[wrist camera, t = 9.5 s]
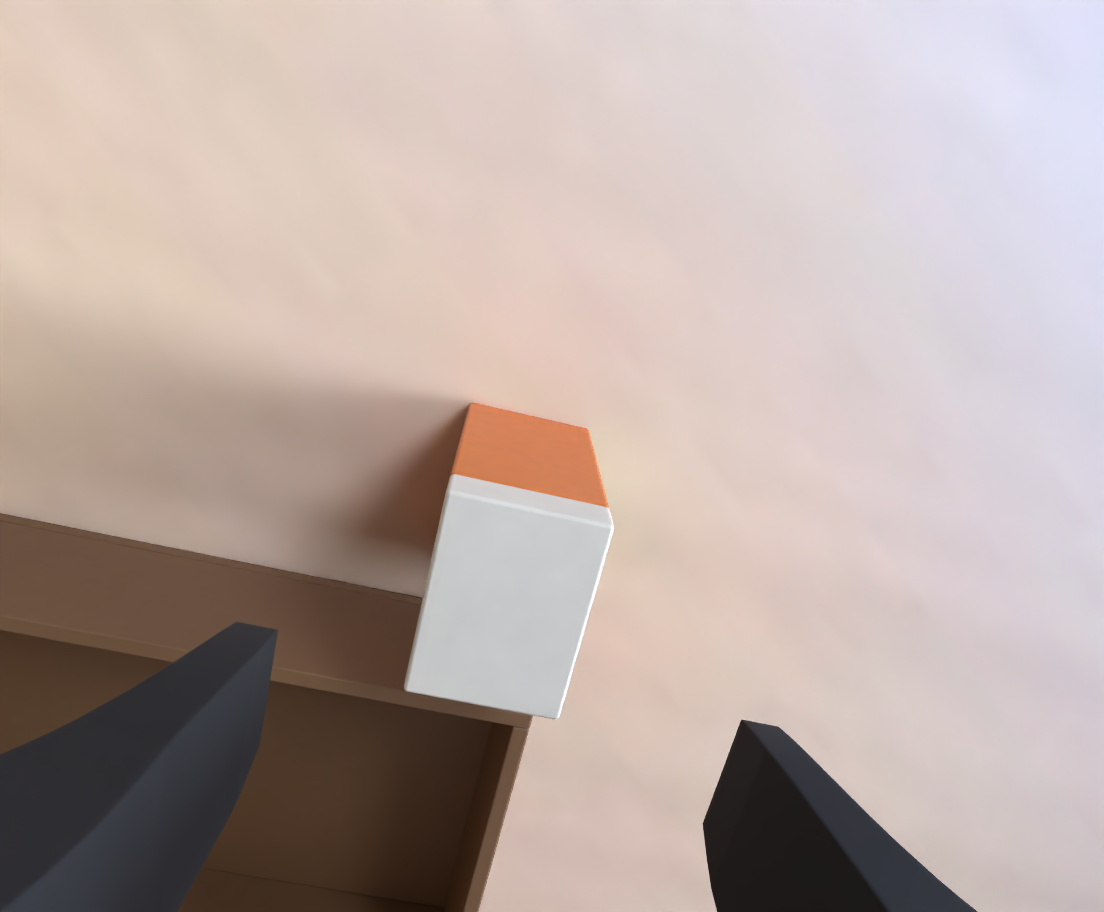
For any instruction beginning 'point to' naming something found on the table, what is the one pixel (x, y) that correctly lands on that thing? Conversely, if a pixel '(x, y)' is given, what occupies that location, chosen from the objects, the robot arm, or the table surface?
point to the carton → (272, 719)
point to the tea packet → (512, 565)
